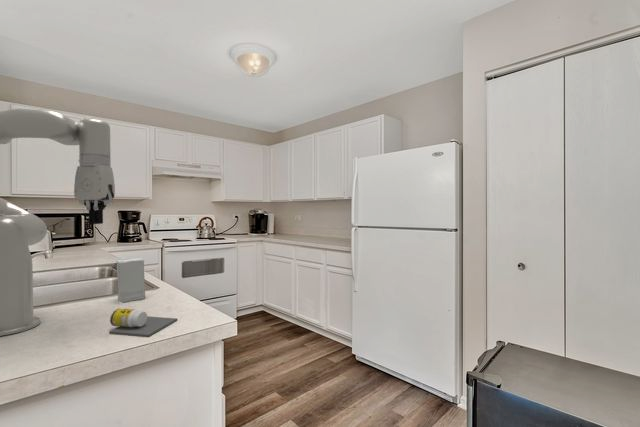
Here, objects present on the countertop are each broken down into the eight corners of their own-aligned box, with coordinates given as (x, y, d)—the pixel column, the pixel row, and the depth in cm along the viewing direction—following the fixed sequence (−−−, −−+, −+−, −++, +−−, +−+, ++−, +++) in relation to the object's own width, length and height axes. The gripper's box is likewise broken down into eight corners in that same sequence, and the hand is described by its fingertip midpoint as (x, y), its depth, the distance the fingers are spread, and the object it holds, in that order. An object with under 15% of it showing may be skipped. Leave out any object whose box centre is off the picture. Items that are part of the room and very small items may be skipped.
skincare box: (142, 295, 119) (142, 257, 119) (145, 299, 114) (145, 259, 114) (116, 299, 114) (116, 259, 113) (118, 303, 109) (118, 261, 109)
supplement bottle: (123, 306, 90) (149, 308, 89) (121, 323, 90) (147, 325, 88) (109, 310, 85) (136, 312, 84) (107, 327, 85) (135, 330, 84)
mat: (109, 333, 83) (109, 331, 83) (142, 317, 95) (142, 315, 95) (148, 337, 81) (148, 334, 81) (177, 320, 93) (177, 318, 93)
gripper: (61, 161, 90) (62, 224, 90) (106, 159, 87) (107, 224, 88) (85, 164, 97) (86, 222, 98) (127, 163, 95) (127, 223, 95)
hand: (96, 223), depth 93 cm, fingers closed
